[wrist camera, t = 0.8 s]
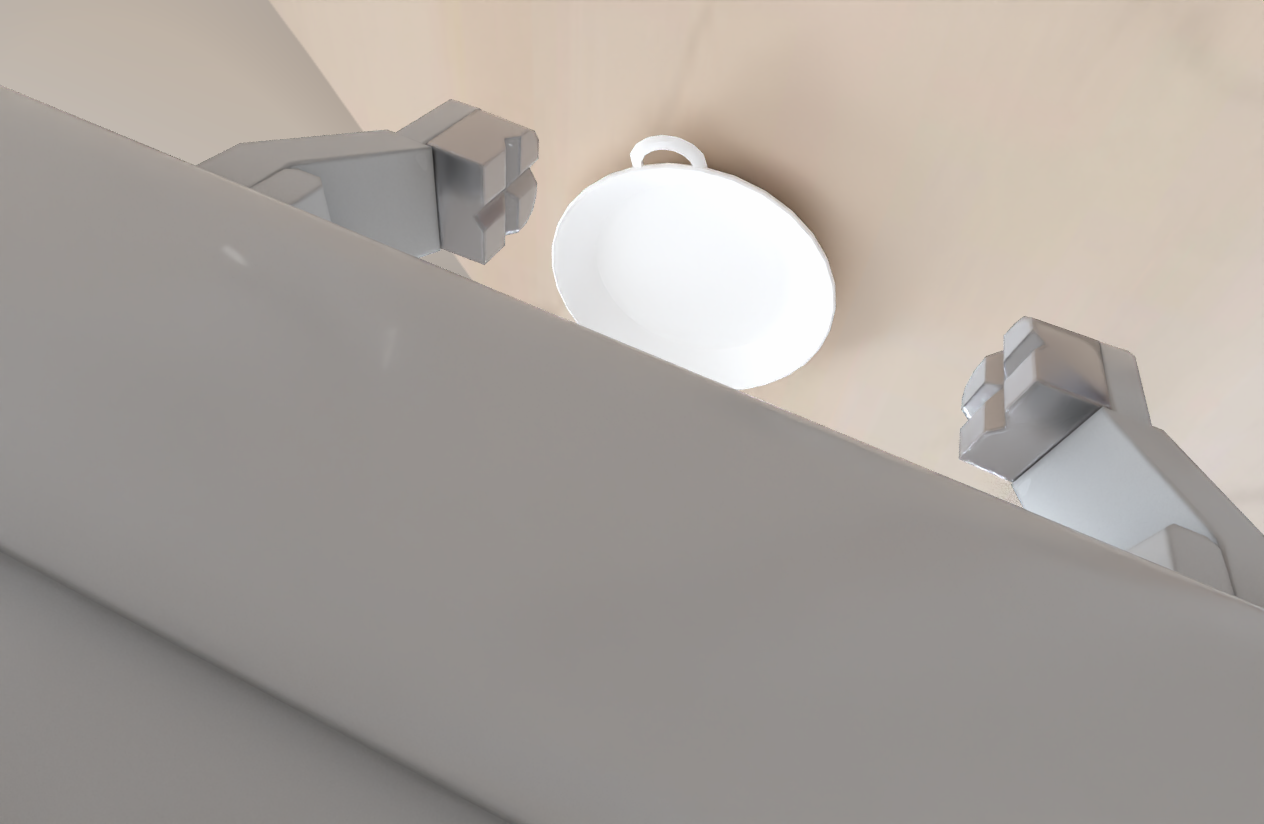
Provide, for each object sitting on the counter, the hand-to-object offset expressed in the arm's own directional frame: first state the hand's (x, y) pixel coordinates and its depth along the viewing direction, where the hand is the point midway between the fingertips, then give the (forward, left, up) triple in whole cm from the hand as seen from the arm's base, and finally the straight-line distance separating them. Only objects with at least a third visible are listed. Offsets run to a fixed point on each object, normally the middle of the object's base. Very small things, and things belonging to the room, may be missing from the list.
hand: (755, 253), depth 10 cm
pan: (+37, -7, -40) cm, 55 cm away
